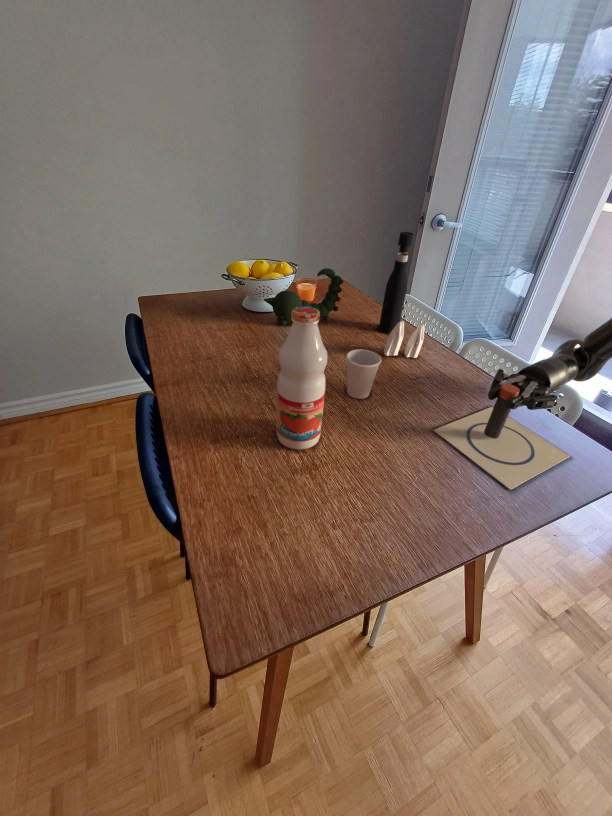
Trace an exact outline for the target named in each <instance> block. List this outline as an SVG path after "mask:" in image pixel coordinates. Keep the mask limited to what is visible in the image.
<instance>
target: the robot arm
mask: <svg viewBox="0 0 612 816" xmlns="http://www.w3.org/2000/svg"><path fill="white" fill-rule="evenodd" d="M611 359H612V317H610V318H609V319H608V320H607V321H605V322H604V323H602V324H601V325H600V326H598V327H597V328H595V329H593V331H591V332H589V333H588V334H587V335H586V336H585V337H584V339H583V340H582V339H579V338H569V339H568V340H566V341H564V342H562V343H561V344H560V345H559V346H558V347H556V349H555V350H554V351H553V353H552V354H551V356H549V357H547V358H544V359H541V360H538V361H536V362H535V363H532V364H530V365H528V366H525V367H524V368H522V369H521V370H519V371H518V372H517V373H510V374H507V373H506V372H505V370H504V369H502V368H499V369H497V370H496V371H497V372H496V373H495V375H494V378H493V380H492V383H491V385H490V389H489V391H488V394H487V399H488V400H489V401H493V400H495V399H497V398H498V396H499V392H500V389H501V387H502V385H503V384H511V385H514V386H516V387H518V388H519V390H520V391H519V394H518V395H517V396H515V397H514V398H512V399H510V400H509V401H508V403H507V405H506V409H508V410H510V409H511V410H516V409H518V408H519V407H526V409H528V410H529V411H536V410H544V409H552V408H553V407H554V405H555V404H556V402H557V400H558V397H559V396H557V395H555V394H552V393H554V392H556V391H559V389H561V388H562V387H563V386H564V385H566V384H567V383H569V382H571V381H574V382H581V383H583V382H586V381H589V380H591V379H592V378H594V377H595V376H596V375H597V374H599V373H600V371H601V370H602V369H603V368H604V366H605V365H606V364H607V363H608V362H609V361H610V360H611Z"/></svg>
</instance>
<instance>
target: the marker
mask: <svg viewBox="0 0 612 816" xmlns="http://www.w3.org/2000/svg"><path fill="white" fill-rule="evenodd" d="M519 391H520V390H519V388H518V387H516V386H514V385H511V384H503V385H502V387H501V389H500V392H499V396H498V397H497V398H496V401H495V403H494V406H493V410H492V413H491V415H490V418H489V420H488V423H487V425H486V428H485V430H484V434H485V435H486V436H488V437H490V438H498V437H499V436H500V433H501V431H502V429H503V426H504V424H505V422H506V420H507V417H509V415H510V413H511V410H512V409H510V410H508V409H506V405H507V403H508V401H509V400H510V399H512V398H514V397H515V396H517V395H518V394H519Z"/></svg>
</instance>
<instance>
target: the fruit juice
mask: <svg viewBox="0 0 612 816" xmlns="http://www.w3.org/2000/svg"><path fill="white" fill-rule="evenodd" d="M291 317H292V318H291V319H292V320H291V322H292V323H291V326H290V329H289V331H288V334H287V336H286V338H285V340H284V342H283V343H282V344H281V346H280V348H279V351H278V364H279V367H280V371H279V372H278V375H277V382H276V423H275V424H276V426H275V428H276V429H275V431H276V437H277V440H278V441H279V443H280V444H281V445H283V446H284V447H286V448H288V449H292V450H307V449H310V448H312V447H314V446H315V445H316V444H317V443H318V442H319V440H320V438H321V434H322V433H321V432H322V424H323V414H324V405H325V395H326V383H327V381H326V374H325V369H326V367H327V364H328V356H329V355H328V351H327V349H326V347H325V344H324V343H323V339H322V336H321V332H320V329H319V321H320V313H319V311H318V310H317V309H315V308H313V307H307V306H301V307H296V308H294V309H293V310H292V314H291ZM317 323H318V324H317Z"/></svg>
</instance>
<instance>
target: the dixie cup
mask: <svg viewBox="0 0 612 816" xmlns="http://www.w3.org/2000/svg"><path fill="white" fill-rule="evenodd" d="M345 359H346V393H347V395H348V396H349V397H351V398H354V399H357V400H358V399H360V400H361V399H366V398H368V397H369V396H370V394H371V391H372V388H373V385H374V382H375V379H376V376H377V373H378V370H379V367H380V364H381V363H382V357H381V355H379V354H378V353H376V352H375V351H372V350H369V349H362V348H360V349H359V348H358V349H357V348H356V349H352V350H350V351H348V352H347V353H346V355H345Z"/></svg>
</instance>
